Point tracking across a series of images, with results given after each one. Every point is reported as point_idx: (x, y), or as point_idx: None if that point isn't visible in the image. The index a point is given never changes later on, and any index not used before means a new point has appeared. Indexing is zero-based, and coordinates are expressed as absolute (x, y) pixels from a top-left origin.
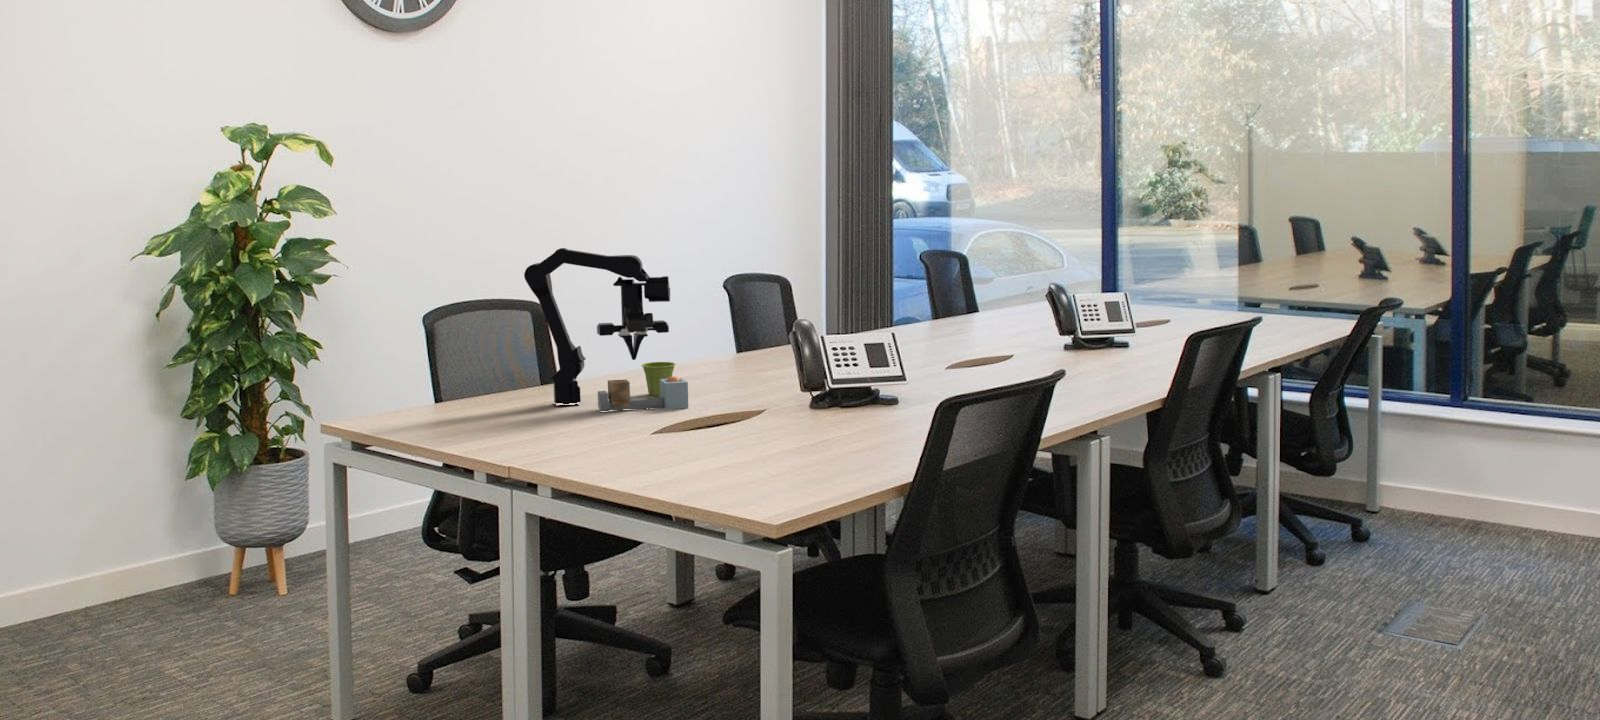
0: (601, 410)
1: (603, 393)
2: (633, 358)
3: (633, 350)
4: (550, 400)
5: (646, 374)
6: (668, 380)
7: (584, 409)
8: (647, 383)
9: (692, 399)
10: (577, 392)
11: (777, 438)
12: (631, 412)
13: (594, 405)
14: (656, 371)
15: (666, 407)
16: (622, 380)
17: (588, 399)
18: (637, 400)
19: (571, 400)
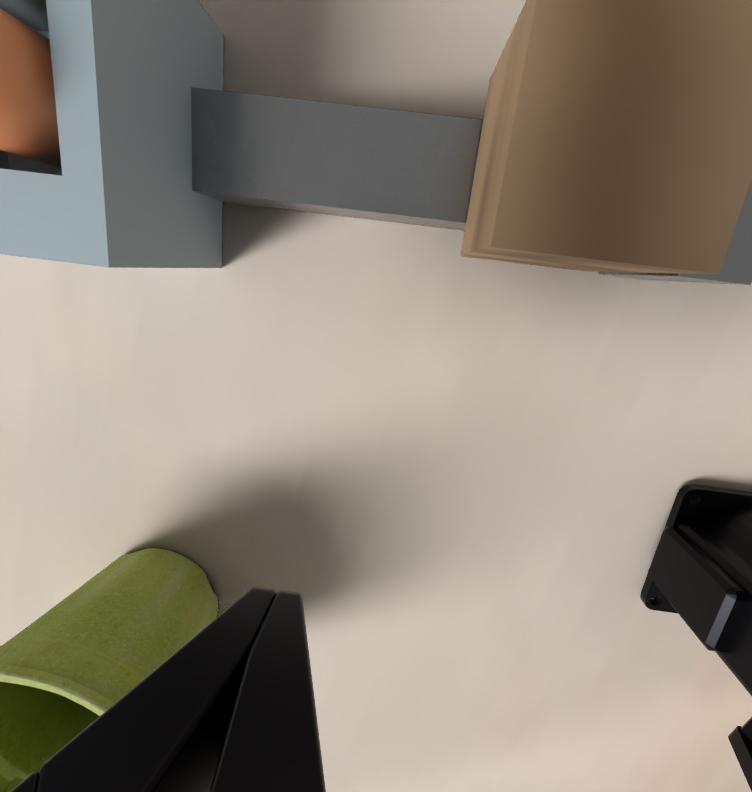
0: None
1: None
2: (283, 600)
3: (227, 729)
4: (731, 698)
5: None
6: (19, 51)
7: (716, 344)
8: None
9: (5, 365)
10: (730, 561)
11: None
12: (487, 45)
13: (597, 451)
14: (86, 661)
15: (213, 25)
16: (564, 181)
17: (546, 636)
18: (413, 117)
19: (747, 517)
